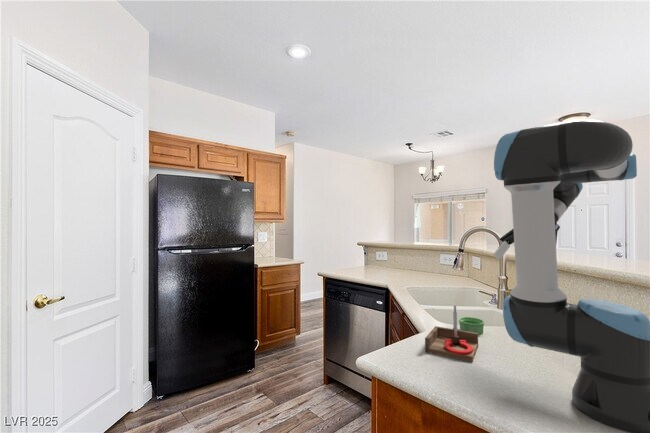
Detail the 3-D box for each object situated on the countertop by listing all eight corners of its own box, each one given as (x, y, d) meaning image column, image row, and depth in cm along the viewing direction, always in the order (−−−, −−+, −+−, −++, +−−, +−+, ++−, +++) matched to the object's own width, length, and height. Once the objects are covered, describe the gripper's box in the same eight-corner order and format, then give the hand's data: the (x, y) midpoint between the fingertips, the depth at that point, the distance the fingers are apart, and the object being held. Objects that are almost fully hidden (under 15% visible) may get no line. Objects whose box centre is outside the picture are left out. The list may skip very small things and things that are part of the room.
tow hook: (476, 356, 94) (468, 343, 103) (475, 314, 94) (467, 305, 103) (446, 355, 96) (441, 342, 105) (446, 313, 96) (441, 304, 105)
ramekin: (459, 334, 117) (458, 322, 117) (458, 326, 126) (458, 315, 126) (485, 337, 114) (485, 325, 114) (483, 329, 122) (483, 318, 122)
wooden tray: (472, 362, 93) (472, 346, 93) (425, 352, 101) (425, 338, 101) (478, 346, 105) (477, 333, 105) (435, 338, 113) (435, 326, 113)
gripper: (592, 220, 95) (553, 272, 91) (523, 222, 119) (491, 262, 116) (577, 203, 94) (538, 254, 90) (511, 208, 118) (478, 248, 115)
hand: (511, 259), depth 103 cm, fingers open, 13 cm apart
